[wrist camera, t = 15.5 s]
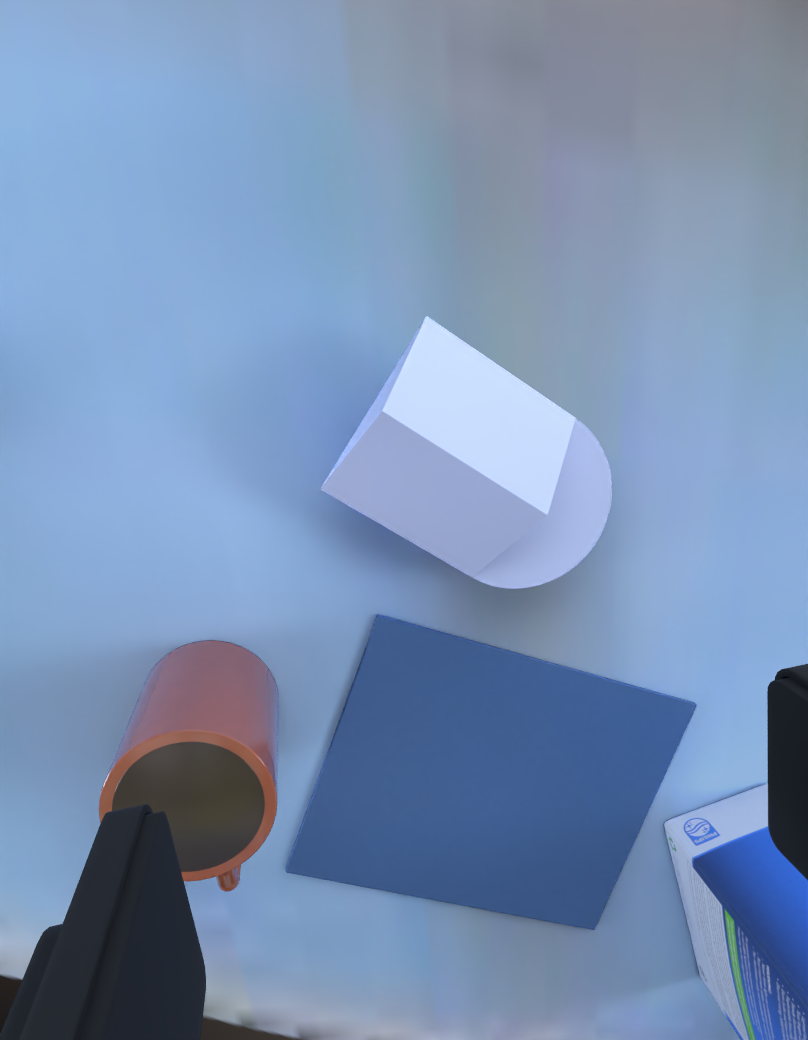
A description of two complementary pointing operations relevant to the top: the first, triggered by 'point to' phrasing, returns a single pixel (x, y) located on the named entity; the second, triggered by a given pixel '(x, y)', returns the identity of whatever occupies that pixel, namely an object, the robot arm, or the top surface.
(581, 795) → the blue rectangular mat
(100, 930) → the robot arm
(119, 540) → the top surface
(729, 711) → the top surface
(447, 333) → the wedge on round base
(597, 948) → the top surface
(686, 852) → the string lights box
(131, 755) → the mug
